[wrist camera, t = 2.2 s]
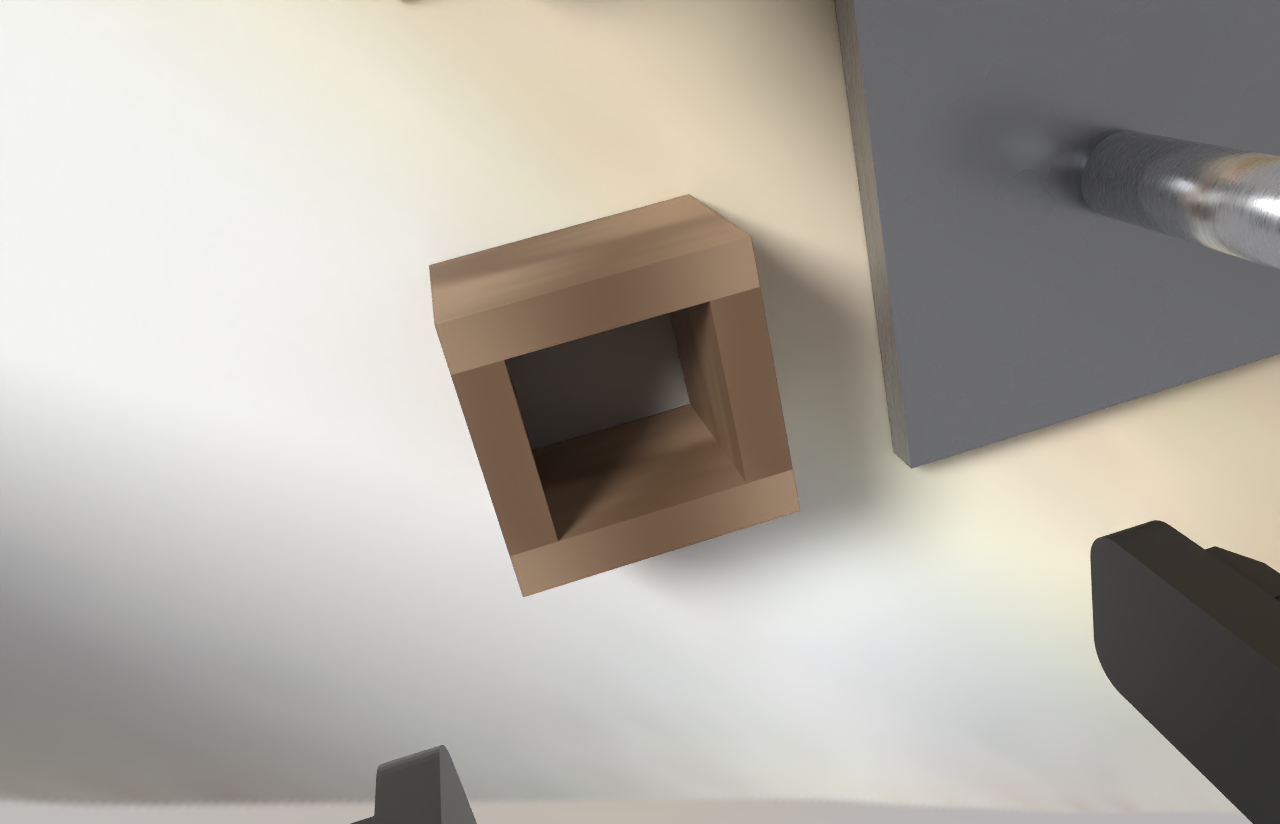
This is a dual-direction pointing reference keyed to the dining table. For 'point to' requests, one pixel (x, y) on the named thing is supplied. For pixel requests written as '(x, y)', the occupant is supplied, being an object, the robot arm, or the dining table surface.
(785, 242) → the dining table surface
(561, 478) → the collar
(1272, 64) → the grey square base plate
